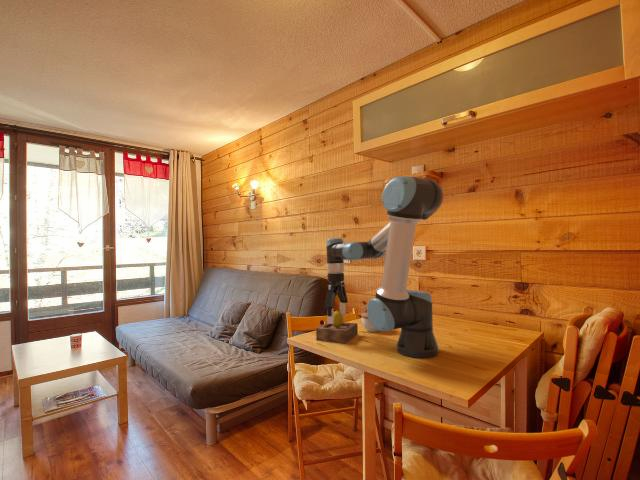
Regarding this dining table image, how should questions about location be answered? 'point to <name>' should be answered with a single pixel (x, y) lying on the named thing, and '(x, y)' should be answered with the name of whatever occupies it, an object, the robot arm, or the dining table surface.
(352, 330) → the walnut base
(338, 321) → the lemon
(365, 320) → the lidded jar
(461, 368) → the dining table surface
